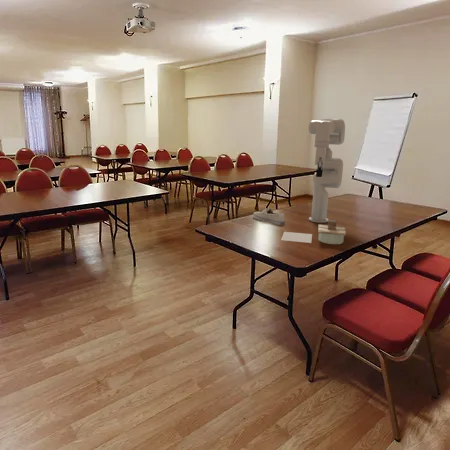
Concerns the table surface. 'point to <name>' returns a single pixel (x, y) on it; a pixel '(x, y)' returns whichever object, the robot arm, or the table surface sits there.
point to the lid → (331, 228)
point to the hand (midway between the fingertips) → (319, 175)
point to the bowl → (331, 238)
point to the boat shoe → (269, 216)
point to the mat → (297, 237)
